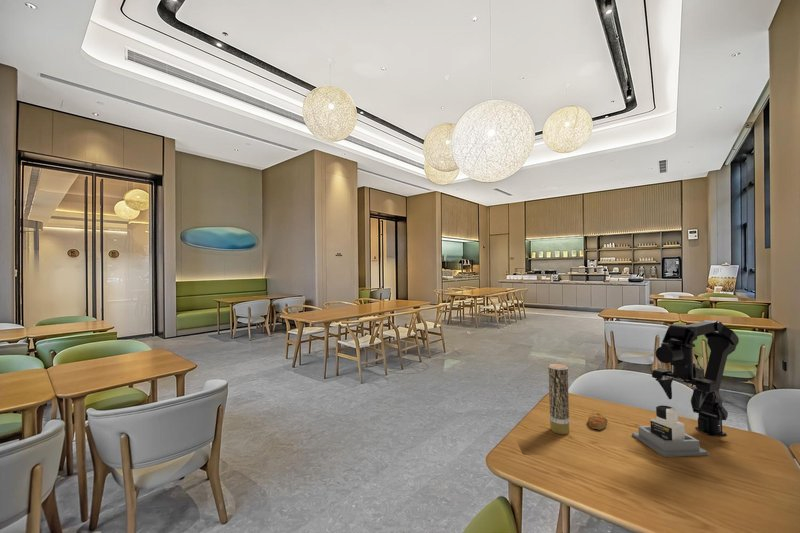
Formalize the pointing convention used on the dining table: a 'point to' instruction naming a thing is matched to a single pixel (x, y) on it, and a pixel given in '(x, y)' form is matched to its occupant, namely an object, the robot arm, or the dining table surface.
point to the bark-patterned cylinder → (559, 398)
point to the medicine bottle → (667, 424)
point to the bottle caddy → (669, 444)
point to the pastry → (597, 421)
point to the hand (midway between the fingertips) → (684, 403)
